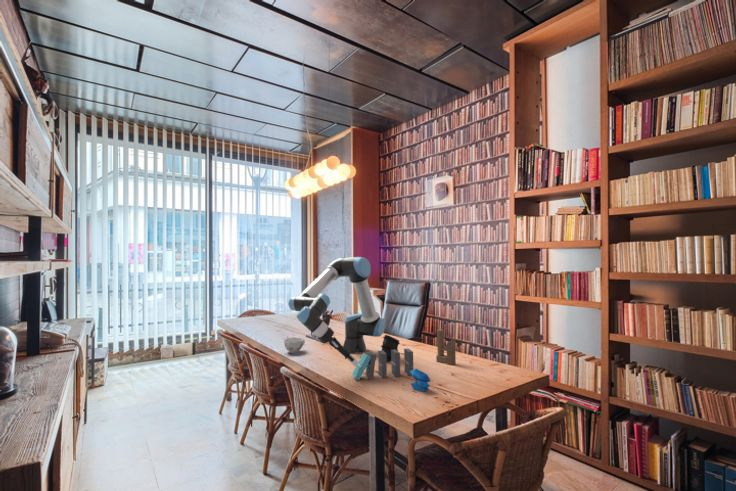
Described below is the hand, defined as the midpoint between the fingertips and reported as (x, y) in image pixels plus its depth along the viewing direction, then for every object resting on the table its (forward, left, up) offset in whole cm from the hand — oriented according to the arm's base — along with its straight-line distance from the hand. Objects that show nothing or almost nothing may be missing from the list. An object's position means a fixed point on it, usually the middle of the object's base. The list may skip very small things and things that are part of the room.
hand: (357, 364), depth 182 cm
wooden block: (-42, +37, -7) cm, 56 cm away
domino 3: (-12, +16, -7) cm, 21 cm away
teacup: (-34, -58, -7) cm, 68 cm away
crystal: (+4, +33, -7) cm, 34 cm away
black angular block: (-36, +6, -7) cm, 37 cm away
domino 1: (-4, +5, -7) cm, 9 cm away
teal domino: (0, -1, -6) cm, 6 cm away
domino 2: (-8, +11, -7) cm, 15 cm away
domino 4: (-16, +22, -7) cm, 28 cm away
